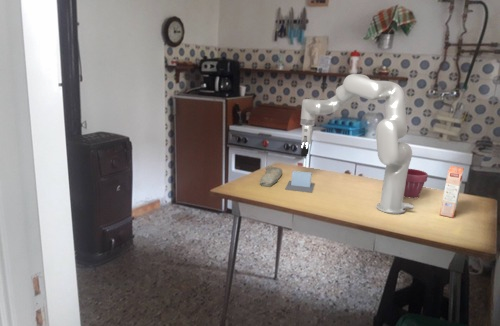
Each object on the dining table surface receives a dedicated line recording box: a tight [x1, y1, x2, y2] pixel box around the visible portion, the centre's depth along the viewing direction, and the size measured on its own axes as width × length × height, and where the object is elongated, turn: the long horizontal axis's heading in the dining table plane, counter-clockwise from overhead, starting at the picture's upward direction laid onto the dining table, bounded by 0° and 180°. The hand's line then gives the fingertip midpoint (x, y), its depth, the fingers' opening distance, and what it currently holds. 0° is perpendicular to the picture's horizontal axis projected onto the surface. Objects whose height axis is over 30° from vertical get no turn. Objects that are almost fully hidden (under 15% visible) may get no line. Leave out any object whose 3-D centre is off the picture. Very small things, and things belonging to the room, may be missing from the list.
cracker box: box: [439, 165, 465, 219], centre depth 176 cm, size 14×6×21 cm, turn 148°
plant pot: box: [404, 168, 429, 199], centre depth 200 cm, size 14×14×13 cm
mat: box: [284, 180, 316, 193], centre depth 206 cm, size 14×16×1 cm
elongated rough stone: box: [259, 165, 283, 188], centre depth 219 cm, size 35×5×10 cm
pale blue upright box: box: [290, 170, 313, 187], centre depth 207 cm, size 10×4×7 cm, turn 77°
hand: (304, 154), depth 212 cm, fingers open, 6 cm apart
